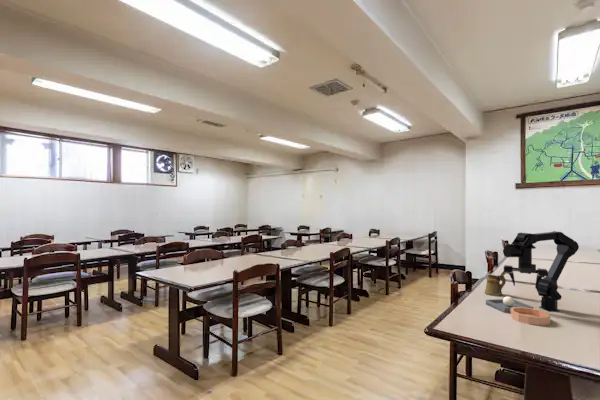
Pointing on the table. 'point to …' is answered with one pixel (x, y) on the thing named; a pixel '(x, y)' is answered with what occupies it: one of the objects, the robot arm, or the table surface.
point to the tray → (502, 307)
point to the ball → (508, 301)
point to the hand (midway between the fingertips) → (525, 287)
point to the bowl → (530, 316)
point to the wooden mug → (495, 284)
